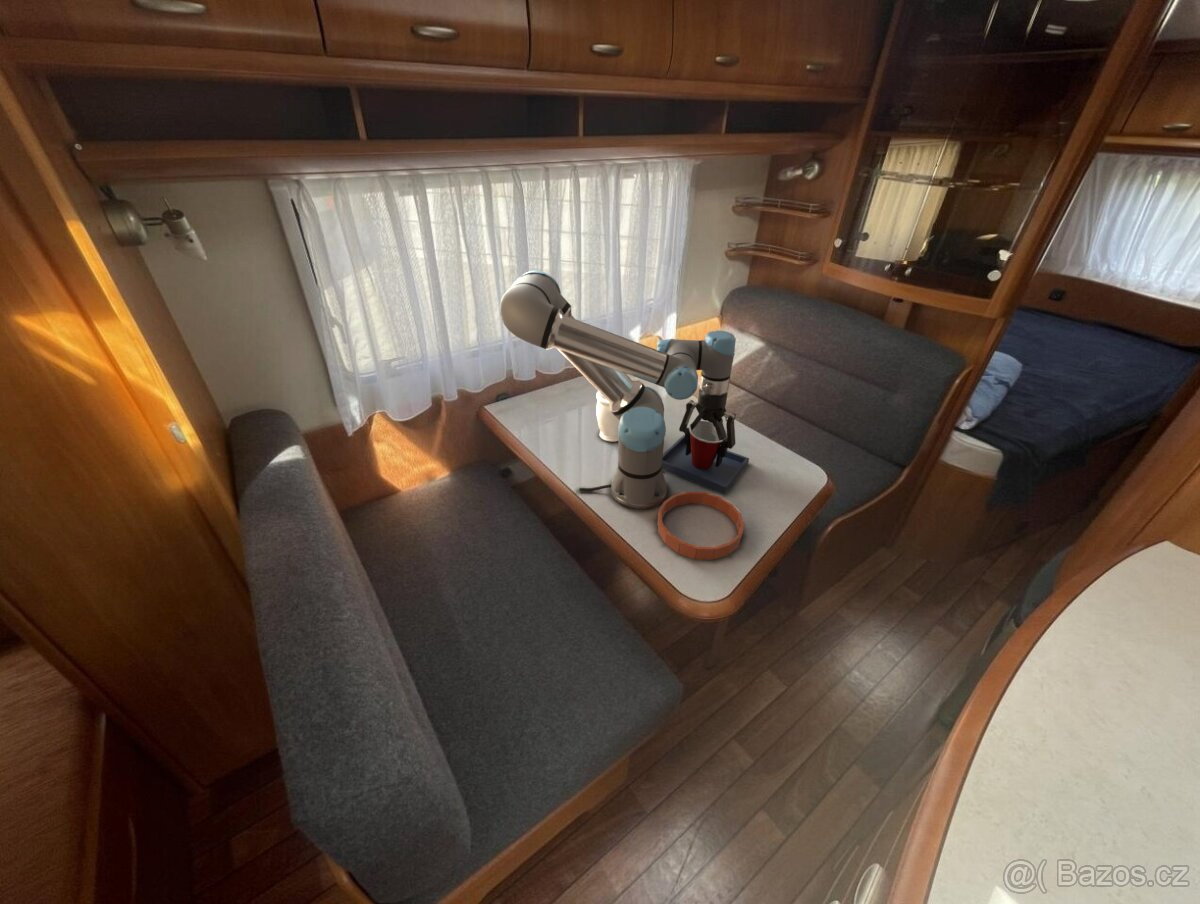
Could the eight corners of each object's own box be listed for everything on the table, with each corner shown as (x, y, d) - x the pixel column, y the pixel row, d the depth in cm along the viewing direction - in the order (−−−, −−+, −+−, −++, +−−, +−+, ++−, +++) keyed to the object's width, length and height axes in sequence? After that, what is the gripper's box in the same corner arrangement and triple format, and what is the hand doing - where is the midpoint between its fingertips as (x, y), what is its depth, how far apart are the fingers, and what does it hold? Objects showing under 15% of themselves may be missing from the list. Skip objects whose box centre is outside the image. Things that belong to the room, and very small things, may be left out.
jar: (614, 423, 161) (615, 383, 153) (635, 436, 155) (637, 395, 146) (590, 434, 156) (589, 393, 147) (610, 447, 149) (611, 406, 141)
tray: (656, 466, 141) (656, 459, 140) (682, 441, 152) (683, 434, 151) (724, 494, 131) (725, 487, 129) (747, 465, 142) (749, 458, 140)
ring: (659, 557, 112) (660, 547, 110) (656, 500, 129) (656, 490, 127) (748, 561, 111) (751, 550, 109) (733, 502, 128) (735, 492, 126)
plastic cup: (721, 477, 136) (728, 442, 129) (683, 472, 138) (687, 438, 131) (721, 455, 145) (727, 421, 138) (685, 451, 146) (689, 417, 139)
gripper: (670, 384, 130) (664, 452, 143) (747, 407, 119) (733, 478, 132) (683, 374, 135) (676, 441, 148) (758, 395, 124) (743, 465, 137)
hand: (703, 458), depth 140 cm, fingers closed on plastic cup, 9 cm apart
